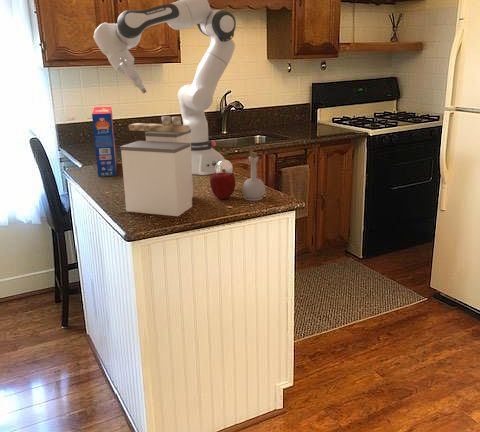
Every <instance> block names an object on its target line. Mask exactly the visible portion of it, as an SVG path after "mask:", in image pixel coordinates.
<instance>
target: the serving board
mask: <svg viewBox="0 0 480 432" xmlns="http://www.w3.org/2000/svg"><path fill="white" fill-rule="evenodd" d="M181 119H182V116H172V117H171V116H170V115H165V116H161V123H145V122H144V123H143V122H136V123H135V122H134V123H132V124H128V130H129V131H134V132H135V131H136V132H137V131H140V132H141V131H143V132H149V131H160V132H187V131H190V128H189V125H183V124H182V120H181Z"/></svg>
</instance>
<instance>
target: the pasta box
mask: <svg viewBox="0 0 480 432" xmlns="http://www.w3.org/2000/svg"><path fill="white" fill-rule="evenodd" d="M91 118H92V128H93V138H94V147H95V148H94V149H95V157H96V158H95V159H96V166H97V169H96V170H97V177H111V176H112V177H114V176H117V154H116V145H115V144H116V143H115V142H116V141H115V134H114V133H115V132H114V119H113V111H112V106H94V107H93V109H92V113H91Z"/></svg>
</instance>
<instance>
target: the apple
mask: <svg viewBox="0 0 480 432" xmlns="http://www.w3.org/2000/svg"><path fill="white" fill-rule="evenodd" d="M209 186H210V189H211V192H212V193H213V195H214V196H215V197H216V199H219V200H227V199H229V198H230V197H231V196H232V195H233V194H234V191H235V188H236V178H235V175H234V174H233V173H227V172H223V173H213V174H211V177H210V181H209Z"/></svg>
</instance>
